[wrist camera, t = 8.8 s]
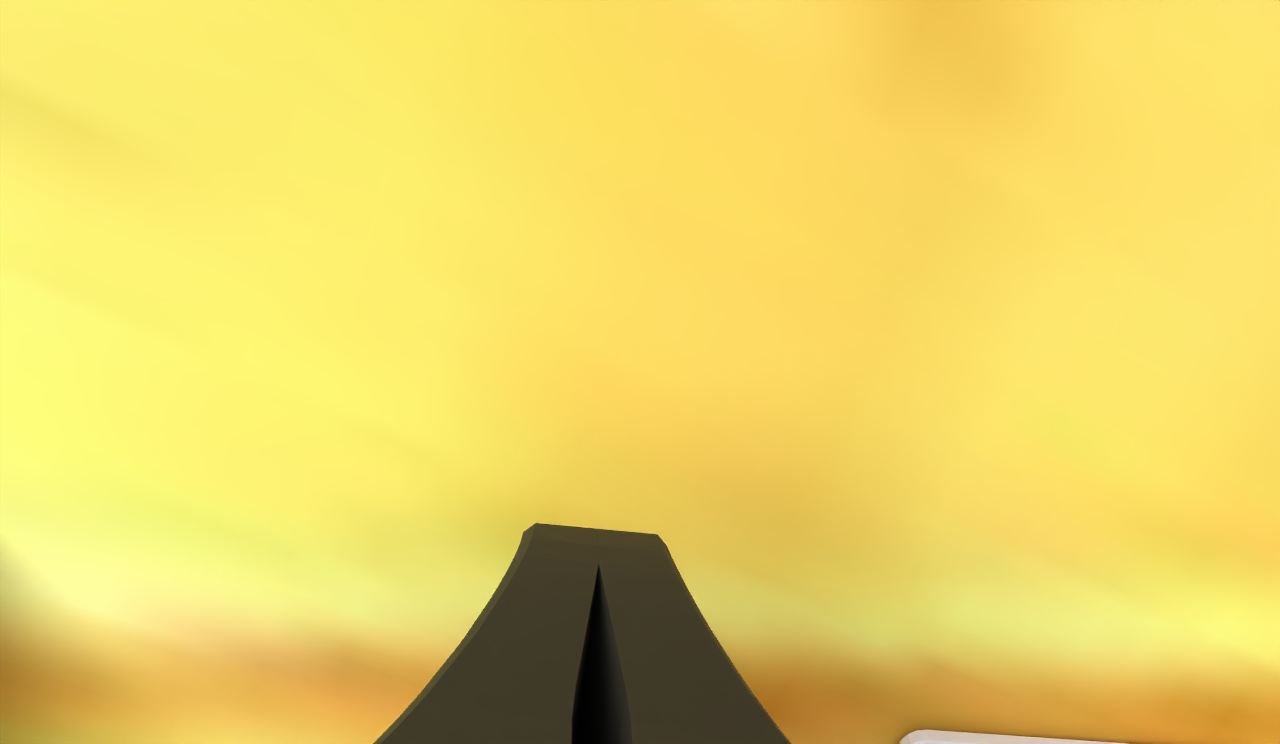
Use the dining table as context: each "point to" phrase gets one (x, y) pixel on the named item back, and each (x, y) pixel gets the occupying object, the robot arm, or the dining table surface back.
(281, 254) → the dining table surface
